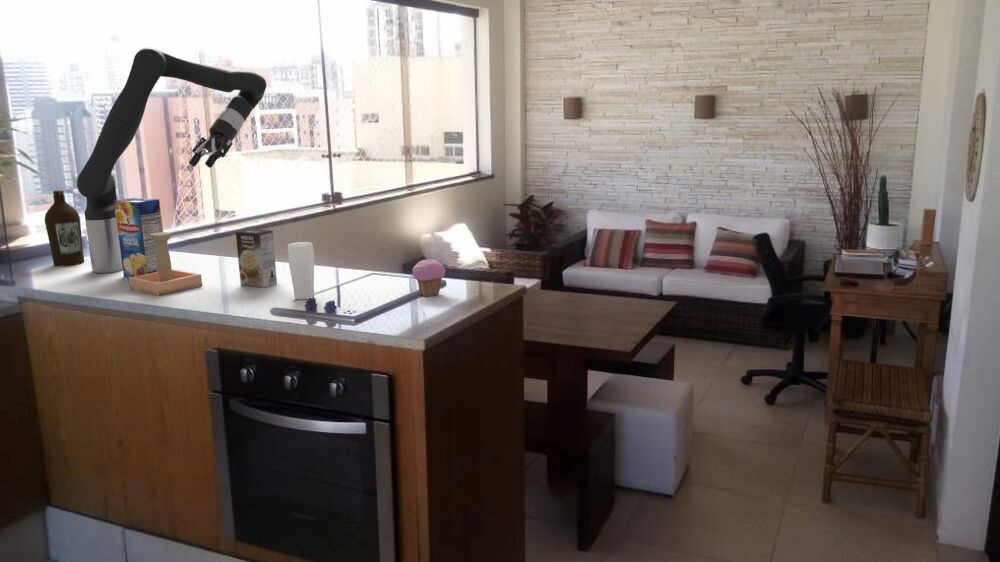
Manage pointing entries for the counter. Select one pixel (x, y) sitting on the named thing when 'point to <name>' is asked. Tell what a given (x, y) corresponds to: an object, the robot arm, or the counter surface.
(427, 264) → the cupcake
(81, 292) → the counter surface
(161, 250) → the handle
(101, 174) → the robot arm
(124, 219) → the juice carton
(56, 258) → the olive oil
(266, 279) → the coffee box
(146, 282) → the tray
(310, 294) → the drinking glass
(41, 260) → the counter surface
